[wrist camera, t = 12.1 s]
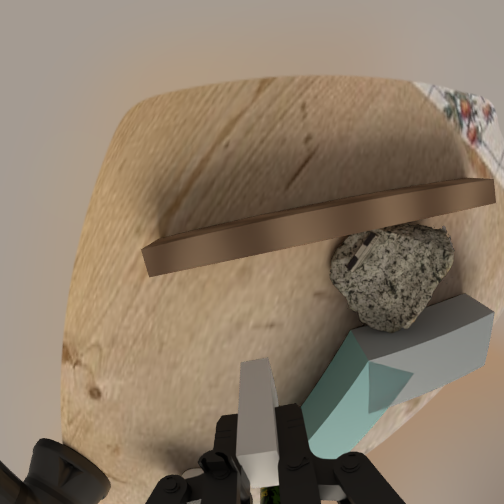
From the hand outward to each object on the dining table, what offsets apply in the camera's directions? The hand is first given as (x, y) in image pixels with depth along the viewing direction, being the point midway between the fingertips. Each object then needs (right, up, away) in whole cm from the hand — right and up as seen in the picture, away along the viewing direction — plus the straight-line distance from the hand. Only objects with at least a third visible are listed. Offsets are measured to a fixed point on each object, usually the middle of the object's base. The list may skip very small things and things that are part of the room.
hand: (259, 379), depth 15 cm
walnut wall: (+6, +10, +7) cm, 14 cm away
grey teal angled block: (+12, -6, +10) cm, 17 cm away
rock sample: (+10, +5, +8) cm, 14 cm away
